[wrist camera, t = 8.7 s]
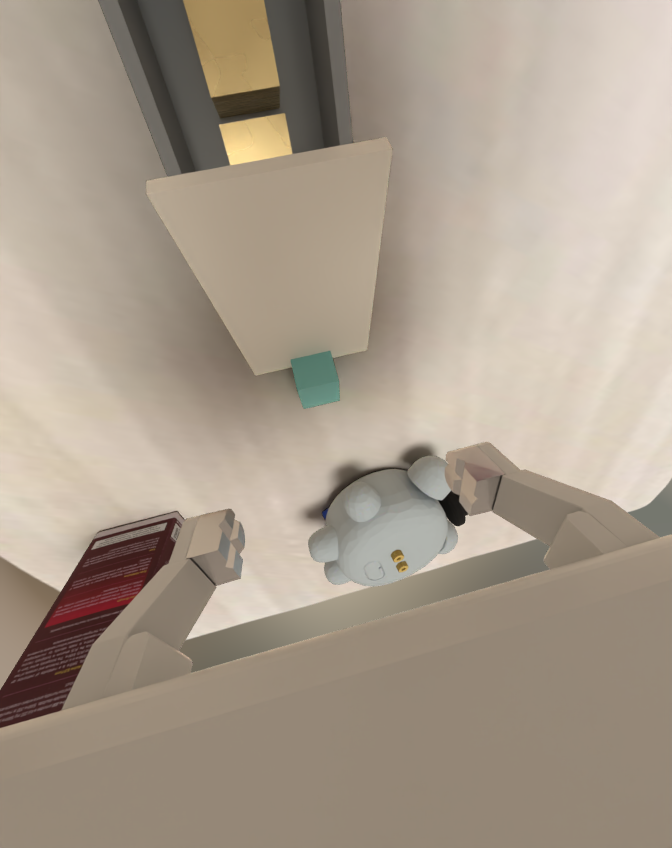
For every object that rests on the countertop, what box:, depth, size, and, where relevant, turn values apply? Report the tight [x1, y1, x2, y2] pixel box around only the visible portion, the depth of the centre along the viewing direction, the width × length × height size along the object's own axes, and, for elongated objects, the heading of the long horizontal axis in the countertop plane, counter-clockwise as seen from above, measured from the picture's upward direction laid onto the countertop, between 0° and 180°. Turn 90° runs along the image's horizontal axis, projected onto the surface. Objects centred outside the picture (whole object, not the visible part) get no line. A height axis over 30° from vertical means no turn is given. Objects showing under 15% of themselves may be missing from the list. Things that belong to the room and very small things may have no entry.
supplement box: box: [0, 512, 185, 728], centre depth 22 cm, size 9×5×16 cm, turn 100°
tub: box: [98, 0, 353, 177], centre depth 12 cm, size 11×8×4 cm
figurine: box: [308, 456, 468, 586], centre depth 30 cm, size 17×8×20 cm
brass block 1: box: [183, 0, 280, 119], centre depth 11 cm, size 4×3×2 cm
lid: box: [146, 137, 393, 409], centre depth 16 cm, size 14×9×4 cm
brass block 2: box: [219, 113, 292, 165], centre depth 14 cm, size 4×3×2 cm
